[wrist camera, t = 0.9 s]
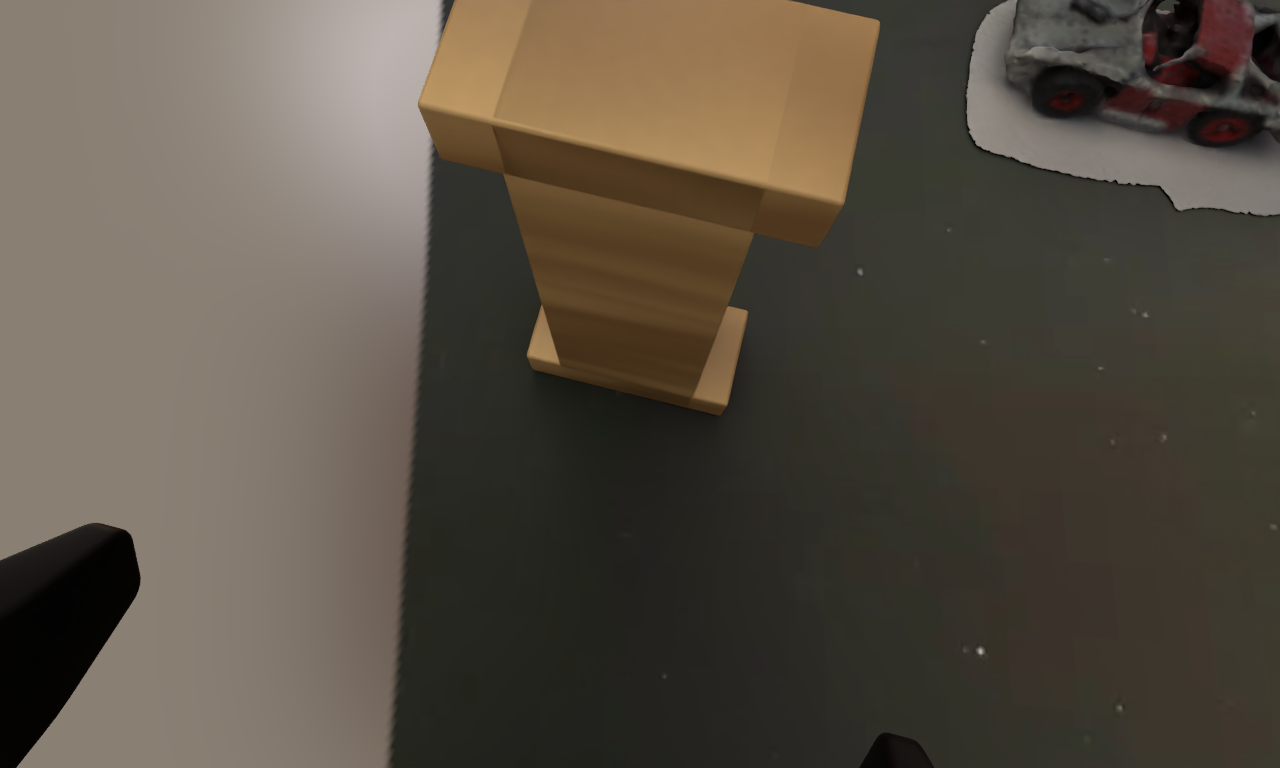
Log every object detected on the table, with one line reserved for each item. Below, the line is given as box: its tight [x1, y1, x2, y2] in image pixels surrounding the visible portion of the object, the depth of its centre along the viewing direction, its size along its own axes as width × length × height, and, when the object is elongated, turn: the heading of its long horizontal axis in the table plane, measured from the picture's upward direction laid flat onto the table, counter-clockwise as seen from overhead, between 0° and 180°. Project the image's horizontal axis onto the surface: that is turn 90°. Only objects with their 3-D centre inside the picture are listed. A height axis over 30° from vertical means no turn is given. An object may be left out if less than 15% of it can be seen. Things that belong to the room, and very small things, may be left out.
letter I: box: [418, 0, 880, 416], centre depth 18 cm, size 3×6×14 cm, turn 76°
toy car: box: [966, 0, 1280, 216], centre depth 26 cm, size 8×12×3 cm
